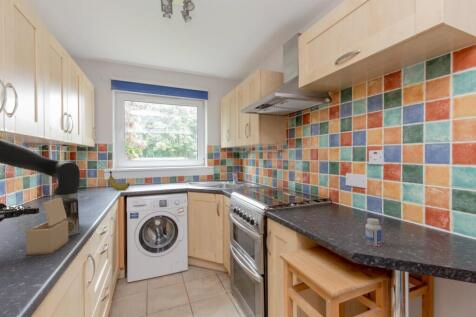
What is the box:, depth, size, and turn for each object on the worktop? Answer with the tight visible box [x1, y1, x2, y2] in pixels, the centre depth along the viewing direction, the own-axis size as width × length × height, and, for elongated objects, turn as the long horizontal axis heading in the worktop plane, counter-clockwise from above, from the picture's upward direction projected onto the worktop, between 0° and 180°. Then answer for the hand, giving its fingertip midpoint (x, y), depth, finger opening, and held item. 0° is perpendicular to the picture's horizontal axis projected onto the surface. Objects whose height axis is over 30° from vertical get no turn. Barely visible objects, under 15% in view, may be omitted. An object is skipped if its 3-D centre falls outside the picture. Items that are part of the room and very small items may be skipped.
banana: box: [107, 170, 130, 191], centre depth 226 cm, size 23×6×20 cm, turn 83°
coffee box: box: [62, 198, 80, 237], centre depth 100 cm, size 9×6×16 cm
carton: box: [25, 221, 70, 256], centre depth 86 cm, size 11×8×9 cm
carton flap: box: [42, 197, 67, 226], centre depth 86 cm, size 10×1×9 cm, turn 10°
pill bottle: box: [364, 217, 383, 247], centre depth 87 cm, size 6×5×10 cm
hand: (37, 210), depth 85 cm, fingers closed
